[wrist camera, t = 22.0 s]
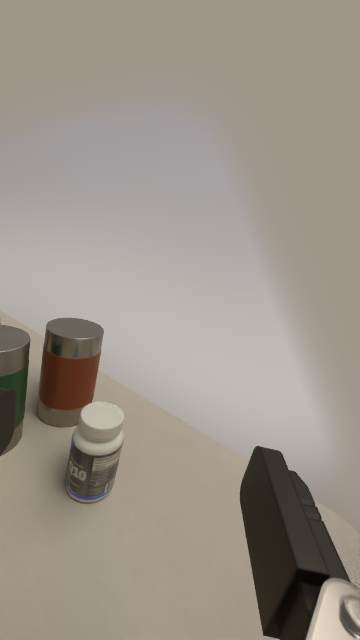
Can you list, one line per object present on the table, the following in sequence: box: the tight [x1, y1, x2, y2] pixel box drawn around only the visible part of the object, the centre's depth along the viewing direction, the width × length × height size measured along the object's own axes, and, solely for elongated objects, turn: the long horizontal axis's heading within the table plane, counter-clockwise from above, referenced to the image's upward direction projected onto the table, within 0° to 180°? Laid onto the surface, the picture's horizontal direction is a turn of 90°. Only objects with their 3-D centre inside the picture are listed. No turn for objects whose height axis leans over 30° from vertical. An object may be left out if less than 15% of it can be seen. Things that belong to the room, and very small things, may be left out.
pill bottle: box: [66, 402, 124, 503], centre depth 28 cm, size 5×5×8 cm
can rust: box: [37, 318, 104, 427], centre depth 37 cm, size 7×7×12 cm
